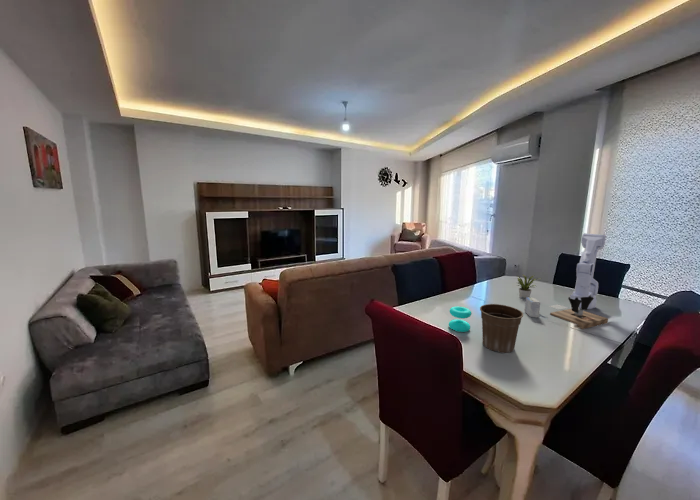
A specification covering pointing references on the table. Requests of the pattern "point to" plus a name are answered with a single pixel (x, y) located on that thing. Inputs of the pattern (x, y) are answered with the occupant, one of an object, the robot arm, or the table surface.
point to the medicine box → (532, 307)
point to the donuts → (457, 323)
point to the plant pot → (500, 326)
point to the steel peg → (579, 313)
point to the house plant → (525, 287)
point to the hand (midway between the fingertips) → (579, 310)
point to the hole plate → (583, 323)
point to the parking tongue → (558, 307)
